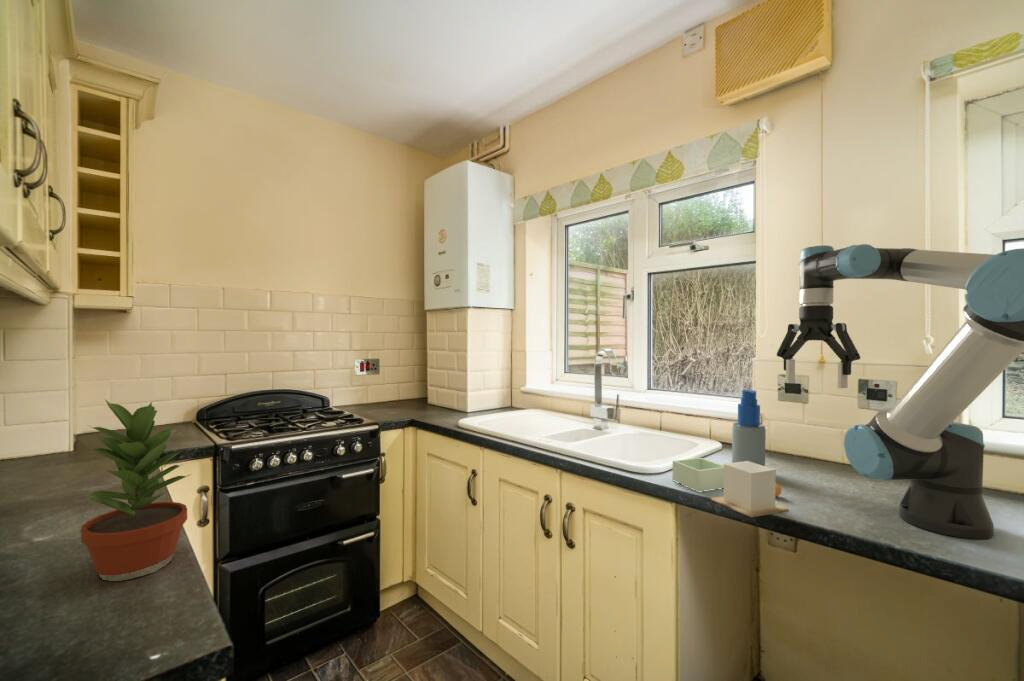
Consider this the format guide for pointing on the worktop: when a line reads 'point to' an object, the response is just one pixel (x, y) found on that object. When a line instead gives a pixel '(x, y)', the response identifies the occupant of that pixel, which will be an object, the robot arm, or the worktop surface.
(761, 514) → the mat
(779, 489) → the ball
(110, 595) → the worktop surface
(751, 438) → the spray bottle
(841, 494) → the worktop surface
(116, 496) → the potted plant
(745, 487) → the block
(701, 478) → the tub
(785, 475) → the worktop surface
